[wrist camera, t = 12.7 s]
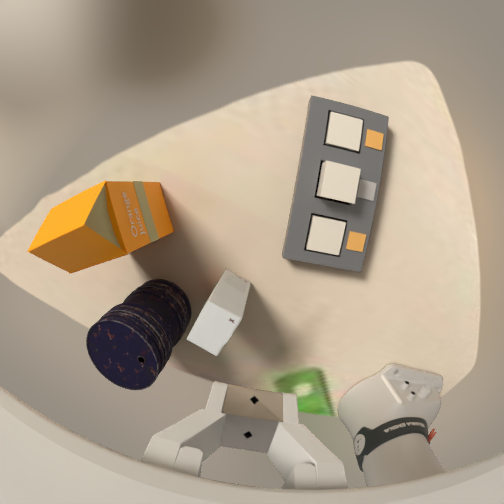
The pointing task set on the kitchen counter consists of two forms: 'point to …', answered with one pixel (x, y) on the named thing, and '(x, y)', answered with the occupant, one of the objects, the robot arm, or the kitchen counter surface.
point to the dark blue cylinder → (139, 334)
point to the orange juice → (102, 224)
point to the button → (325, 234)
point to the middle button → (338, 182)
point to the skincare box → (221, 313)
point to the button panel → (352, 214)
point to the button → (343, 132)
